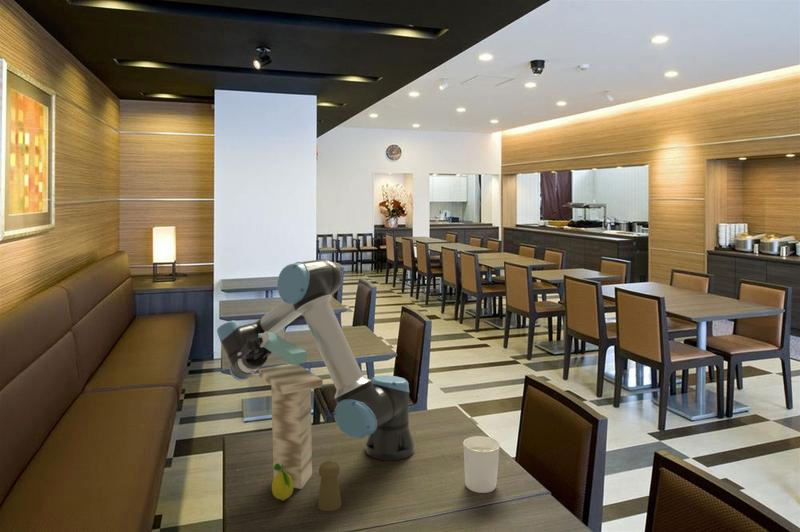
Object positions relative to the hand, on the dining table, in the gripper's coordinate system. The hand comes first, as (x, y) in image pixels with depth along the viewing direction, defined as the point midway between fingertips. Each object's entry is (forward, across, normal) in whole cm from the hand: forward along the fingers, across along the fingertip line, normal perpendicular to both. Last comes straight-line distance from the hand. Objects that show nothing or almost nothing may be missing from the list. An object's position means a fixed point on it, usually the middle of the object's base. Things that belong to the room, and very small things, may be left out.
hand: (275, 334), depth 162 cm
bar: (+2, 0, -6) cm, 6 cm away
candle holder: (+17, -42, -55) cm, 71 cm away
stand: (-11, 0, -39) cm, 40 cm away
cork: (+5, -3, -48) cm, 48 cm away
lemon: (-3, +6, -44) cm, 44 cm away
